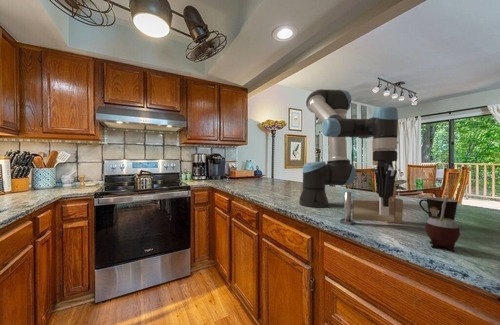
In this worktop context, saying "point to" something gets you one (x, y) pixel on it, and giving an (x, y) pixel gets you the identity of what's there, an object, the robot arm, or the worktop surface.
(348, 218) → the hinge post
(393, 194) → the post
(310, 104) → the robot arm
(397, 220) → the gate
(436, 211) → the coffee mug
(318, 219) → the worktop surface
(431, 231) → the mate gourd
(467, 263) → the worktop surface
